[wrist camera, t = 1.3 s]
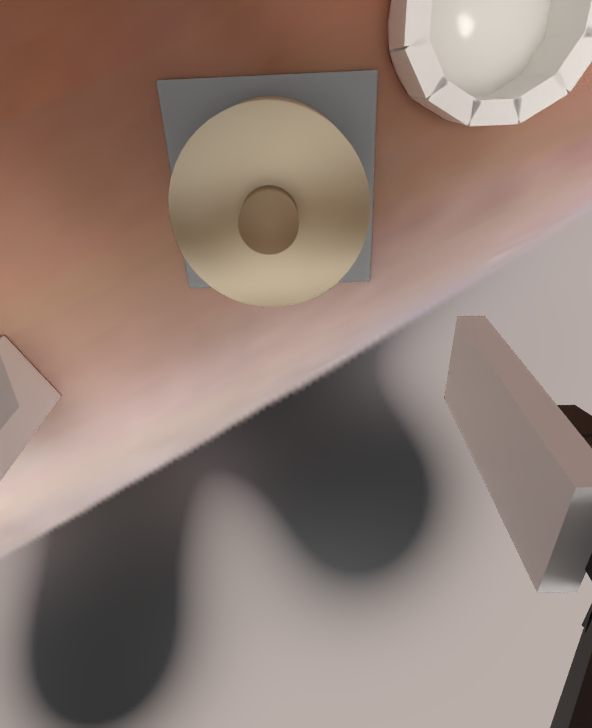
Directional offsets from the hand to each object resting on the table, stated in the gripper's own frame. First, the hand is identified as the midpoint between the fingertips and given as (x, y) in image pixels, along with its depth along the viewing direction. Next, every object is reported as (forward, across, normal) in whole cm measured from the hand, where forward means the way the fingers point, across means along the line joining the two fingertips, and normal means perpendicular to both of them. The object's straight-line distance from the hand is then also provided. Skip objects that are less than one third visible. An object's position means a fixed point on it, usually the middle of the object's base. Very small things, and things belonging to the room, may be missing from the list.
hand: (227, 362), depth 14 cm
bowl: (+19, +12, +9) cm, 24 cm away
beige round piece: (+18, +1, +1) cm, 19 cm away
